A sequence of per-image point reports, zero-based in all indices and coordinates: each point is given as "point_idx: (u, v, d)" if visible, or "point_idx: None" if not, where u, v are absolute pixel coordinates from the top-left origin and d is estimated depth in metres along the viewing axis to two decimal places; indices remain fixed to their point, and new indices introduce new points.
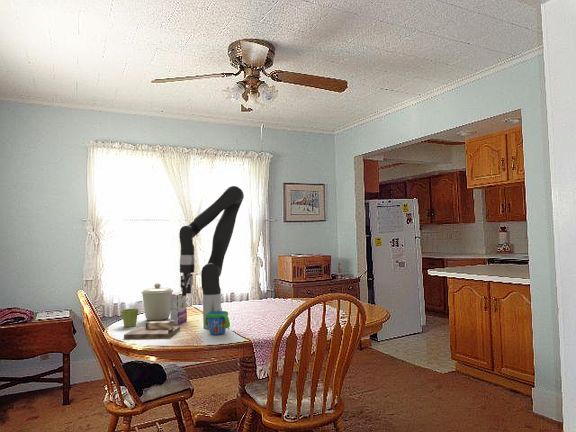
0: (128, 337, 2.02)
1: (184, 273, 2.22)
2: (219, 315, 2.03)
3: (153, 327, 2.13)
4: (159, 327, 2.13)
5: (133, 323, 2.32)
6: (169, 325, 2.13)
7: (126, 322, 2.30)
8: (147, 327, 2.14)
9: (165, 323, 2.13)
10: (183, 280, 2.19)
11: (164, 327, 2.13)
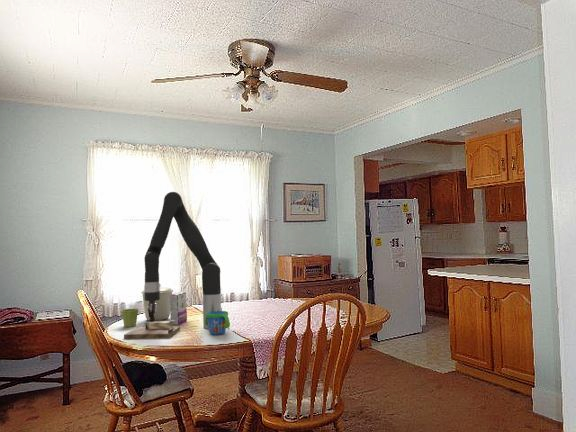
0: (128, 337, 2.02)
1: (150, 301, 2.15)
2: (219, 315, 2.03)
3: (153, 327, 2.13)
4: (159, 327, 2.13)
5: (133, 323, 2.32)
6: (169, 325, 2.13)
7: (126, 322, 2.30)
8: (147, 327, 2.13)
9: (165, 323, 2.13)
10: (151, 312, 2.14)
11: (164, 327, 2.13)
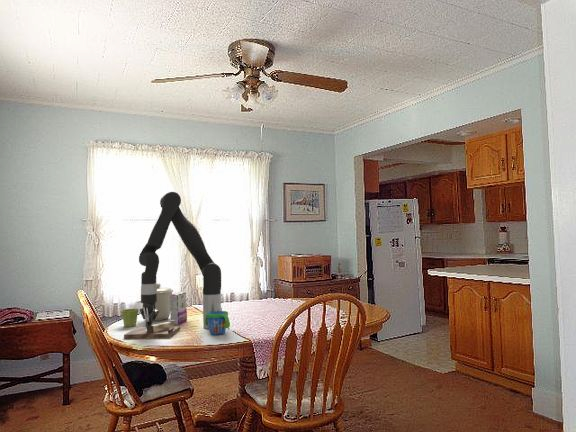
0: (128, 337, 2.02)
1: (153, 303, 2.07)
2: (219, 315, 2.03)
3: (157, 330, 2.07)
4: (163, 329, 2.09)
5: (133, 323, 2.32)
6: (172, 325, 2.13)
7: (126, 322, 2.30)
8: (152, 331, 2.05)
9: (168, 324, 2.12)
10: (155, 315, 2.06)
11: (167, 328, 2.11)
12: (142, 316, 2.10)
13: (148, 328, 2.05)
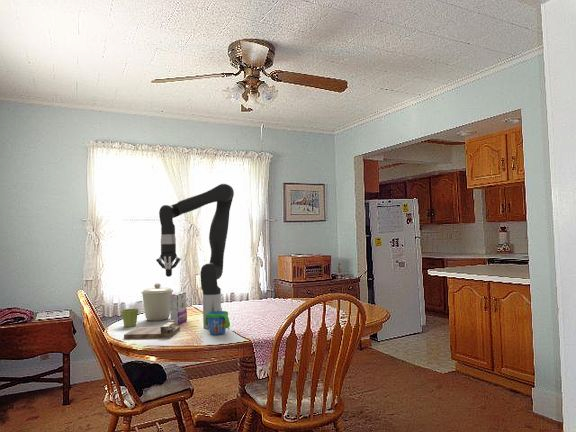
0: (128, 337, 2.02)
1: (175, 252, 2.24)
2: (219, 315, 2.03)
3: None
4: None
5: (133, 323, 2.32)
6: (174, 325, 2.14)
7: (126, 322, 2.30)
8: (167, 331, 2.03)
9: (173, 323, 2.12)
10: (177, 262, 2.24)
11: (173, 328, 2.11)
12: (160, 265, 2.23)
13: (163, 329, 2.02)
